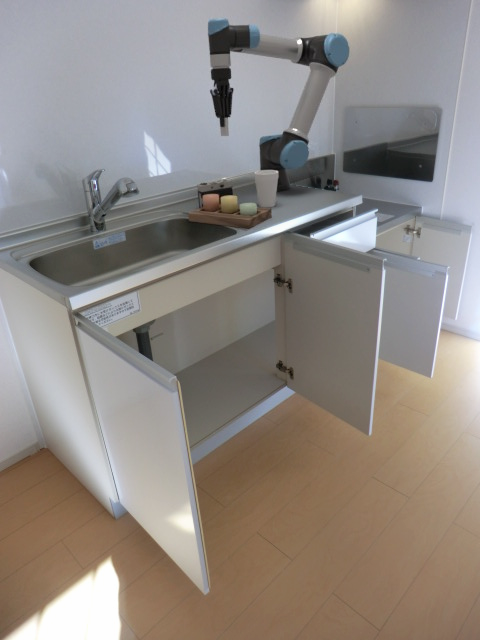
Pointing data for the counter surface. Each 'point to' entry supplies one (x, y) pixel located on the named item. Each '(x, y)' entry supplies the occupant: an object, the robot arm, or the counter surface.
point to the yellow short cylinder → (229, 204)
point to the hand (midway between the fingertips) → (224, 135)
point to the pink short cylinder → (211, 202)
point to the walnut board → (229, 217)
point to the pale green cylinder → (248, 209)
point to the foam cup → (266, 187)
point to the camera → (214, 190)
